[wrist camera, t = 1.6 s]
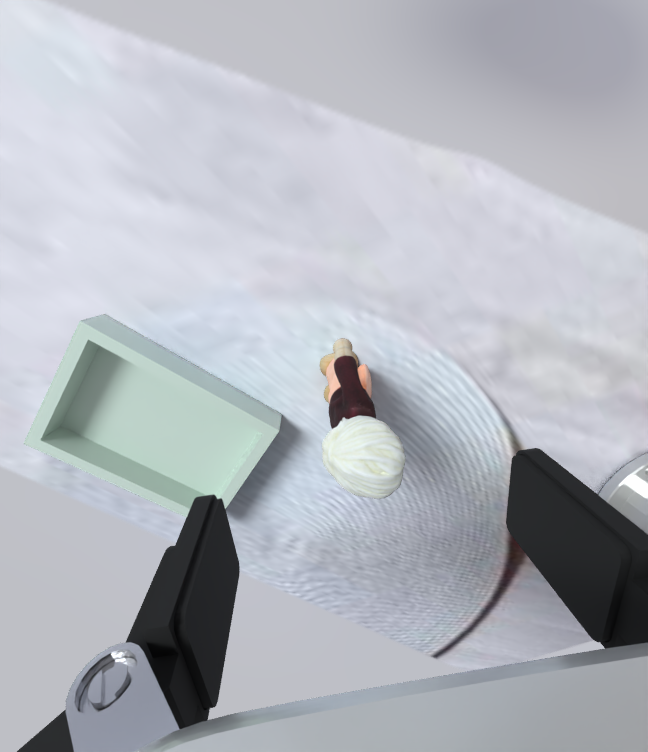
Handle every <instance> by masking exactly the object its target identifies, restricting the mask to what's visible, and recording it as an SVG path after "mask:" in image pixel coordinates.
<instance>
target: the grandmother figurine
mask: <svg viewBox="0 0 648 752" xmlns="http://www.w3.org/2000/svg"><path fill="white" fill-rule="evenodd" d="M333 351H334V353H332V354H329V355H326V356H324V357H323V358H322V359H321V361H320V369H321V372H322V373H323V374H324V375H325V376H327V380H328V384H329V385H328V386H327V387H326V388H325V392H324V398H325V400H326V401H327V402H328V403H329V416H330V423H331V427H332V429H331V430H330V431H329V432H328V434H327V435H326V437H325V438H324V440H323V443H322V450H323V455H322V457H323V464H324V466H325V468H326V469H327V471H328V472H329V473H330V474H331V475H332V476H333V477H334V478H335V480H336V481H337V482H338V484H339V485H340V486H341V487H342V488H343V489H344V490H346V491H347V492H350V493H352V494H354V495H357V496H361V497H368V498H374V499H382V498H385V497H387V496H389V495H391V494H392V493H393V492H394V491H395V490H397V489H398V488H399V486H400V484H401V481H402V476H403V468H404V465H405V455H404V448H403V446H402V443H401V441H400V438H399V437H398V436H397V435H396V434H394V432H393V431H392V430H391V429H390V427H389V426H388V425H387V424H386V423H384V422H382V421H379V420H377V419H376V415H375V408H374V404H373V402H372V400H371V394H372V392H371V376H370V372H369V369H368V366H367V365H365V364H363V365H361V366H359V367H358V359H357V356H356V355H355V353H354V352H352V344H351V342H350V341H349V340H347V339H345V338H341V339H338V340H337V341H335V343H334V345H333Z"/></svg>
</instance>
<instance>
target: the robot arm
mask: <svg viewBox="0 0 648 752" xmlns="http://www.w3.org/2000/svg"><path fill="white" fill-rule="evenodd" d="M506 524H507V528H508V530H509V532H510V534H511V535H512V536H513V538H514V539H515V540H516V542H517V543H518V544H519V545H520V547H521V548H522V549H523V551H524V552H525V553H526V554H527V556H528V557H529V558H530V560H531V561H532V562H533V563H534V565H535V566H536V567H537V569H538V570H539V571H540V572H541V574H542V575H543V576H544V578H545V579H546V580H547V581H548V583H549V584H550V585H551V587H552V588H553V589H554V590H555V592H556V593H557V594H558V596H559V597H560V598H561V599H562V601H563V602H564V603H565V605H566V606H567V607H568V608H569V610H570V611H571V612H572V614H573V615H574V616H575V618H576V619H577V620H578V621H579V623H580V624H581V625H582V627H583V628H584V629H585V630H586V632H587V633H588V634H589V635H590V637H591V638H592V639H593V640H595V641H597V642H601V644H602V645H603V646H604V648H605V649H600V650H594V651H589V652H582V653H576V654H570V655H564V656H558V657H551V658H545V659H539V660H534V661H527V662H521V663H515V664H509V665H503V666H497V667H491V668H485V669H479V670H473V671H467V672H462V673H456V674H450V675H444V676H438V677H433V678H427V679H421V680H415V681H409V682H403V683H397V684H392V685H386V686H381V687H375V688H369V689H363V690H358V691H352V692H347V693H341V694H335V695H330V696H324V697H318V698H313V699H307V700H301V701H296V702H291V703H286V704H281V705H276V706H270V707H266V708H261V709H255V710H250V711H246V712H240V713H235V714H231V715H227V716H224V717H219V718H215V719H212V720H207V719H208V715H209V709H210V708H213V707H215V706H216V704H217V701H218V696H219V690H220V685H221V678H222V672H223V667H224V661H225V655H226V649H227V644H228V638H229V632H230V626H231V620H232V614H233V608H234V602H235V596H236V591H237V585H238V579H239V561H238V557H237V553H236V549H235V545H234V542H233V538H232V534H231V530H230V526H229V522H228V518H227V514H226V510H225V507H224V503H223V500H222V499H221V498H219V499H217V497H216V496H215V495H214V494H213V495H206V496H200V497H196V498H195V499H194V501H193V503H192V506H191V508H190V511H189V513H188V516H187V518H186V521H185V523H184V526H183V528H182V530H181V533H180V535H179V538H178V540H177V543H176V545H175V546H170V547H169V548H167V550H166V552H165V553H164V556H163V558H162V560H161V562H160V565H159V567H158V569H157V571H156V574H155V576H154V578H153V581H152V583H151V585H150V588H149V590H148V592H147V594H146V597H145V599H144V602H143V604H142V606H141V609H140V611H139V613H138V615H137V618H136V620H135V622H134V625H133V627H132V629H131V632H130V634H129V636H128V638H127V641H126V643H120V644H117V645H114V646H112V647H109V648H108V649H106V650H105V651H103V652H101V653H100V654H98V655H97V656H96V657H95V658H93V659H92V660H91V661H90V662H89V663H88V664H87V665H86V666H85V667H84V668H83V670H82V671H81V672H80V673H79V674H78V676H77V677H76V679H75V681H74V682H73V684H72V686H71V688H70V690H69V693H68V696H67V699H66V710H65V711H63V712H62V713H61V714H60V715H59V716H58V717H56V718H55V719H54V720H53V721H52V722H51V723H49V724H48V725H47V726H46V727H45V728H44V729H43V730H41V731H40V732H39V733H38V734H37V735H36V736H34V737H33V738H32V739H31V740H30V741H29V742H27V743H26V744H25V745H24V746H23V747H22V748H20V749H19V750H18V751H17V752H648V453H646V454H644V455H641V456H639V457H638V458H636V459H634V460H633V461H631V462H630V463H628V464H626V465H625V466H624V467H623V468H622V469H620V470H619V471H618V472H617V473H615V474H614V475H613V477H612V478H611V479H610V480H609V481H608V482H607V483H606V484H605V486H604V487H603V488H602V490H601V491H600V493H599V494H598V495H597V494H596V493H595V492H594V491H592V490H591V489H590V488H588V487H587V486H586V485H585V484H583V483H582V482H581V481H580V480H578V479H577V478H576V477H575V476H573V475H572V474H571V473H569V472H568V471H567V470H566V469H564V468H563V467H562V466H561V465H559V464H558V463H557V462H556V461H554V460H553V459H552V458H550V457H549V456H548V455H547V454H545V453H544V452H543V451H542V450H540V449H538V448H534V449H527V450H520V451H518V452H517V453H516V456H514V457H513V458H512V464H511V475H510V486H509V497H508V507H507V518H506Z"/></svg>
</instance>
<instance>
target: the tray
mask: <svg viewBox="0 0 648 752" xmlns="http://www.w3.org/2000/svg"><path fill="white" fill-rule="evenodd" d="M281 416H282V414H280V413H279V412H277V411H275V410H273V409H272V408H270V407H268V406H266V405H264V404H263V403H261V402H259V401H257V400H256V399H254V398H252V397H250V396H249V395H247V394H245V393H243V392H241V391H240V390H238V389H236V388H234V387H233V386H231V385H229V384H227V383H226V382H224V381H222V380H220V379H218V378H217V377H215V376H213V375H211V374H210V373H208V372H206V371H204V370H202V369H201V368H199V367H197V366H195V365H194V364H192V363H190V362H188V361H187V360H185V359H183V358H181V357H179V356H178V355H176V354H174V353H172V352H171V351H169V350H167V349H165V348H163V347H162V346H160V345H158V344H156V343H155V342H153V341H151V340H149V339H148V338H146V337H144V336H142V335H140V334H139V333H137V332H135V331H133V330H132V329H130V328H128V327H126V326H124V325H123V324H121V323H119V322H117V321H116V320H114V319H112V318H110V317H109V316H107V315H105V314H103V315H99V316H96V317H92V318H89V319H85V320H81V321H80V322H79V324H78V326H77V329H76V331H75V333H74V335H73V337H72V339H71V342H70V344H69V346H68V348H67V350H66V352H65V355H64V357H63V359H62V361H61V363H60V365H59V368H58V370H57V372H56V374H55V376H54V379H53V381H52V383H51V385H50V387H49V389H48V392H47V394H46V396H45V398H44V400H43V402H42V405H41V407H40V409H39V411H38V413H37V415H36V418H35V420H34V422H33V424H32V426H31V428H30V431H29V433H28V435H27V437H26V439H25V442H24V444H25V445H27V446H29V447H32V448H34V449H36V450H38V451H41V452H43V453H45V454H47V455H49V456H52V457H54V458H56V459H58V460H61V461H63V462H65V463H67V464H69V465H72V466H74V467H76V468H78V469H80V470H83V471H85V472H87V473H89V474H92V475H94V476H96V477H98V478H100V479H103V480H105V481H107V482H109V483H111V484H114V485H116V486H118V487H120V488H123V489H125V490H127V491H129V492H131V493H134V494H136V495H138V496H140V497H143V498H145V499H147V500H149V501H151V502H154V503H156V504H158V505H160V506H162V507H165V508H167V509H169V510H171V511H174V512H176V513H178V514H180V515H182V516H185V517H187V516H188V513H189V511H190V508H191V506H192V503H193V501H194V499H195V498H196V497H200V496H206V495H213V494H214V495H215V496H216V497H217V499H219V498H221V499H222V500H223V503H224V507H225V509H226V508H227V506H228V505H229V503H230V502H231V500H232V499H233V497H234V496H235V495H236V493H237V492H238V490H239V489H240V487H241V486H242V484H243V483H244V481H245V480H246V479H247V477H248V476H249V474H250V473H251V471H252V470H253V468H254V467H255V465H256V464H257V463H258V461H259V460H260V458H261V457H262V455H263V454H264V452H265V451H266V450H267V448H268V447H269V445H270V444H271V442H272V441H273V439H274V438H275V436H276V435H277V434H278V432H279V431H280V423H281Z"/></svg>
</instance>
